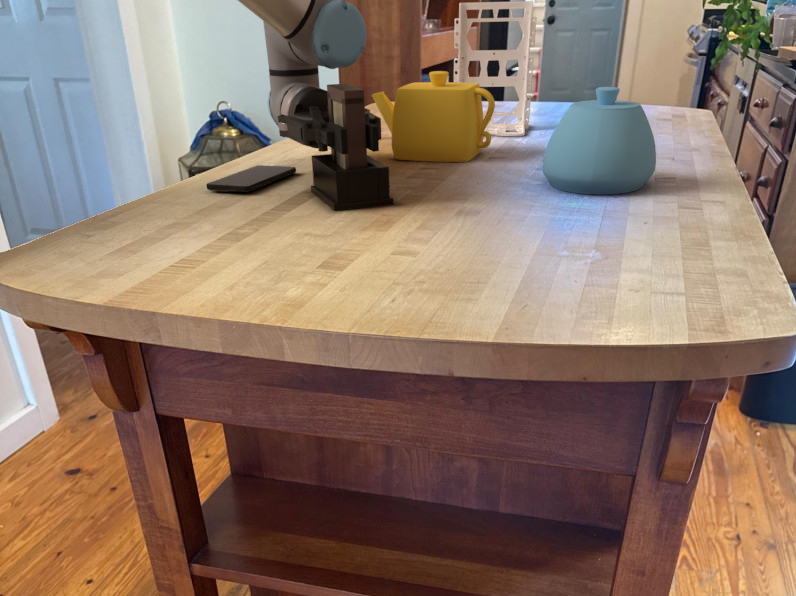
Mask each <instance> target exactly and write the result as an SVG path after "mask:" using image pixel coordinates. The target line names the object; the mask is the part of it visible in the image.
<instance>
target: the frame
mask: <svg viewBox="0 0 796 596" xmlns="http://www.w3.org/2000/svg"><path fill="white" fill-rule="evenodd" d="M326 91H327V96H328V110H329V122H333V123H335V124H337V125H339V126H342V127H344V128H346V129H347V140H348V154H341V153H339V152H337V151H336V150H334V149H332V148H331V147H330V152H331V153H330V154H332V162H334V163H335V164H337V165H339V166H340V167H342V168H343V169H345V170H346V169H355V168H366V167H367V155H368V149H367V145H366V122H365V109H366V101H365V100H366V99H365V89H362V88H360V87H356V86H353V85H350V84H347V83H334V84H333V83H332V84H327V85H326Z"/></svg>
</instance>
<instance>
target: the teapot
mask: <svg viewBox="0 0 796 596" xmlns="http://www.w3.org/2000/svg"><path fill="white" fill-rule="evenodd" d="M449 74H450V72H448V71H445V70H434V71H430V72H429V73H428V76H429V79H430V81H427V82H424V81H423V82H422V81H421V82H418V81H417V82H416V81H415V82H411V83H408V84H404V85H402V86H399V87H397V90H396V93H395V98H394V103H392V101H391V100H390V99H389V97H388V96H387V95H386V94H385V91H380V92H376V93H372V94H371V97H372V99H373V102H374V103H375V105H376V107H377V109H378V111H379V113H380V115H381V116H382V119H383V121H384V122H385V124H386V126H387V128H388V130H389V131H390V134H391V149H392V150H391V151H392V154H393V158H394V160H400V161H411V162H412V161H413V162H429V163H430V162H435V163H436V162H437V163H466V162H470V161H471V160H473V159H474V158H475V157H476V156H477V155H479V153H480V152H481V150H482V149H486V148H488V147H489V146H490V144H491V142H492V135H490V133H489V132H487V131H484V130H485V128H486V127H487V125H488V123H489V121H490V119H491V117H493V116H492V115H493V113H495V107H496V102H495V98H494V96H493V94H492V93H491V92H490V91H489V90H487V89H485V88H484V87H480V85H479V83H457V82H454V81H453V82H450V81H449V82H448V78H449ZM482 97H483V98H485V99H486V100H487V105H488V106H487V110H486V112H485V113H486V115H485V116H483V113H484V109H483V108H484V107H483V99H482ZM484 137H485V139H486V140H485V141H484Z"/></svg>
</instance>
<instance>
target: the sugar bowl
mask: <svg viewBox="0 0 796 596" xmlns="http://www.w3.org/2000/svg"><path fill="white" fill-rule="evenodd" d="M620 90H621V89H620V88H619V87H617V86H599V87H597V88H595V95H596V99H591V100H580V101H576V102H572V104H570V106H569V107H568V108H567V110H566V111H565V112H564V114H563V115H562V116H561V118H560V120H559V122H558V123H557V125H556V126H555V128H554V130H553V131H552V133H551V136H550V138H549V140H548V142H547V145H546V148H545V151H544V155H543V159H542V165H541V170H542V173H543V174H544V176H545V178H546V180H547V181H548V182H549V184H550V185H551V187H552V188H555V189H556V190H560V191H563V192H567V193H573V194H580V195H581V194H582V195H583V194H584V195H600V196H601V195H619V194H626V193H632V192H635V191H639V189H641V188H642V187H643V186H645V184H646V183H647V182H648V181H649V180H650V179H651V178H652V176H653V175H654V173H655V171H656V165H657V149H656V142H655V137H654V133H653V129H652V127H651V124H650V122H649V119H648V117H647V113H646V112H645V111H644V108H643V106H642V104H640V103H639V102H636V101H630V100H620V99H617V97H618V96H619V93H620Z"/></svg>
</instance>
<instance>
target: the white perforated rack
mask: <svg viewBox="0 0 796 596" xmlns="http://www.w3.org/2000/svg"><path fill="white" fill-rule="evenodd" d="M458 6H459V8H458V10H459V11H458V17H457V18H454V34H453V35H454V37H453V39H454V43H453V47H454V49H457V50H458V52H457V53H458V55H457V57H455V58H453V82H455V83H479V85H480V88H488V87H489V88H491V87H492V88H494V87H495V88H496V87H497V88H499V87H500V88H501V87H502V88H503V87H506V88H507V87H514V91H515V92H516V95H517V98H518V101H517V103H516V105H515V107H514V109H513V111H512V112H493V115H492V117H491V119H490V121H489V123H488V125H487V127H486V128H485V130H484V131H487V132H489V133H490V135H491V136H495V137H522V136H525V135H526V131H528V130H529V128H530V127H529V126H530V125H529V123H530V117H531V116H530V115H531V114H530V113H531V102H532V101H531V100H532V96H531V95H528V87H532V86H533V71H534V57H533V56H530V54H531V53H530V52H531V48H535V45H536V44H535V43H536V31H537V18H538V17H537V16H533V8H534V1H533V0H524V1H523V0H522V1H519V0H518V1H483V2H482V1H479V2H478V1H477V2H459V4H458ZM519 9H520V10H522V9H524V13H523V17H521V16H520V17H514V16H513V10H519ZM470 10H471V11H475V10H477V11H478V10H479V11H478V16H477V18H476V17H475V18H474V17H473V18H468V12H467V11H470ZM483 10H492V14H493V17H482V13H483ZM499 10H509V17H498V14H499ZM533 20H534V21H533ZM457 21H458V23H457ZM495 22H499V23H500V22H517V23H518V25H519V28H520V31H521V32H522V35H523V36H522V37H521V40H520V42H519V44H518V45H517V47H516V49H492V50H491V49H489V50H488V49H485V50H484V49H483V50H480V49H479V50H473V49H472V48H471V45H470V43H469V41H468V38H467V35H468V33H469V31H470V29H471V27H472V25H473V23H495ZM532 32H533V33H532ZM457 33H458V34H457ZM456 44H457V45H456ZM531 60H532V61H531ZM456 61H457V62H456ZM489 61H498V66H499V70H498V75H497V76H489V75H488V65H489ZM508 61H517V65H518V69H517V73H516V75H515V76H511V75H510V76H507V70H506V68H507V64H508ZM470 62H479V64H480V71H479V75H478V76H470V73H469V66H470ZM530 71H531V72H530ZM529 82H530V83H529ZM528 98H529V99H528ZM527 109H528V110H527ZM486 113H487V112H483V117H485V115H486ZM493 117H504V118H503V123H501V122H500V123H494V118H493ZM508 117H517V123H516V122H515V123H512V122H511V123H506V122H507V118H508Z"/></svg>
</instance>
